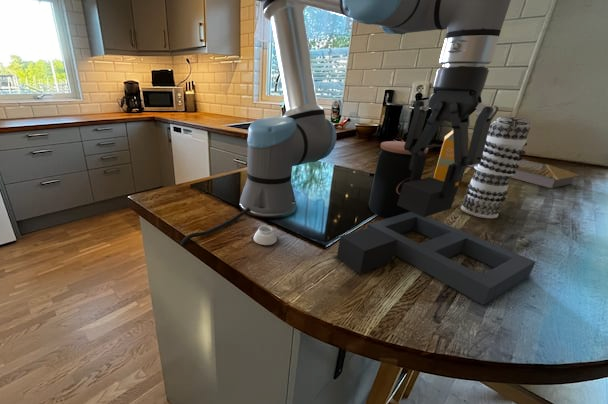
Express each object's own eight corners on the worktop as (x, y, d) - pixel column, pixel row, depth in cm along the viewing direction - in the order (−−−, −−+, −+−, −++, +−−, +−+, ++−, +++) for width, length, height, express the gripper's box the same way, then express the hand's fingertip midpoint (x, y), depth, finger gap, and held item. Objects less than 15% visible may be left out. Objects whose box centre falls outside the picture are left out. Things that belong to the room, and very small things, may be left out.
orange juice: (458, 178, 108) (476, 122, 100) (458, 185, 101) (478, 125, 93) (433, 174, 111) (449, 120, 103) (432, 181, 105) (448, 123, 97)
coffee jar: (392, 223, 74) (409, 152, 66) (359, 207, 82) (371, 143, 75) (419, 215, 78) (438, 148, 71) (385, 201, 87) (399, 139, 80)
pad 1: (359, 274, 55) (364, 250, 53) (336, 257, 59) (340, 235, 57) (392, 261, 59) (397, 239, 57) (367, 246, 63) (372, 226, 61)
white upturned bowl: (278, 237, 66) (256, 233, 68) (279, 225, 65) (257, 221, 67) (273, 248, 62) (250, 244, 63) (274, 236, 61) (251, 232, 62)
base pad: (483, 305, 48) (490, 288, 46) (365, 237, 67) (367, 223, 66) (528, 277, 55) (536, 261, 53) (410, 223, 74) (413, 210, 73)
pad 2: (423, 217, 58) (431, 193, 55) (396, 205, 62) (403, 182, 60) (450, 208, 62) (458, 186, 59) (423, 197, 66) (430, 176, 64)
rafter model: (451, 162, 129) (456, 148, 126) (473, 159, 134) (477, 146, 132) (553, 189, 99) (561, 171, 97) (575, 184, 105) (583, 167, 102)
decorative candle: (459, 202, 87) (488, 114, 77) (498, 210, 83) (535, 117, 73) (458, 212, 81) (489, 117, 71) (501, 222, 76) (541, 121, 66)
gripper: (400, 66, 57) (377, 180, 66) (519, 64, 42) (468, 212, 51) (424, 67, 61) (399, 175, 70) (543, 66, 45) (491, 204, 54)
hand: (428, 190), depth 60 cm, fingers closed on pad 2, 6 cm apart
